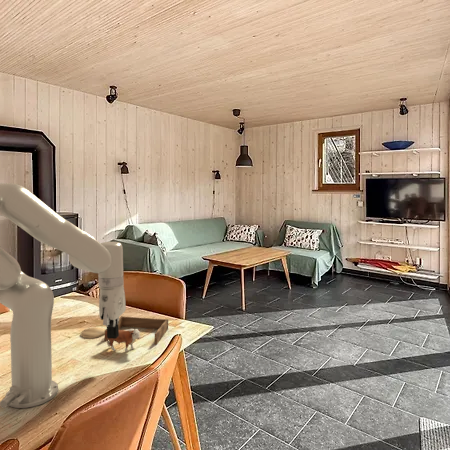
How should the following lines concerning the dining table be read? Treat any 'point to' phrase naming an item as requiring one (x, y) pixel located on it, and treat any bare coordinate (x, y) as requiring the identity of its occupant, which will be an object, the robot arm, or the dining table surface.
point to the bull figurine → (124, 338)
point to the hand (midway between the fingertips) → (112, 337)
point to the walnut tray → (145, 325)
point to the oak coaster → (93, 332)
